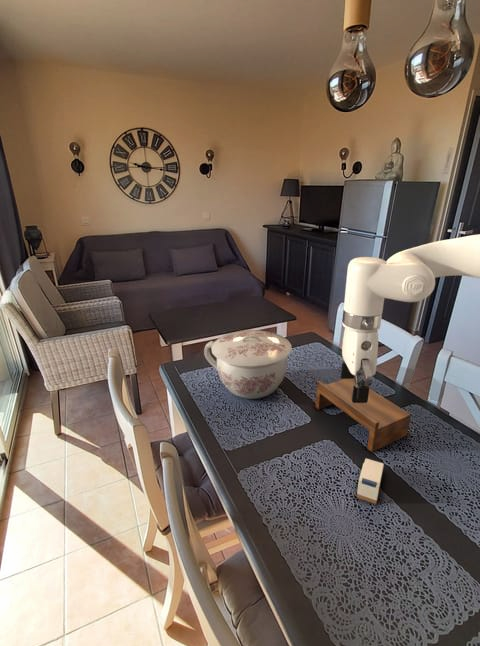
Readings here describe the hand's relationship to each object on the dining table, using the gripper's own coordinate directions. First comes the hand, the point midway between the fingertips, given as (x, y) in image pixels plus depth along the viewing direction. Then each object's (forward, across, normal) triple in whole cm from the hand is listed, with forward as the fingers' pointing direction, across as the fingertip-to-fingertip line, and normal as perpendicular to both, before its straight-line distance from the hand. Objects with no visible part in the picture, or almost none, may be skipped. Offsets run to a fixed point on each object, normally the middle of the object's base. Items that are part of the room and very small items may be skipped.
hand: (353, 389), depth 81 cm
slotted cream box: (+25, -4, -6) cm, 26 cm away
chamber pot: (+26, +42, +22) cm, 54 cm away
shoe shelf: (+25, +22, -10) cm, 35 cm away
